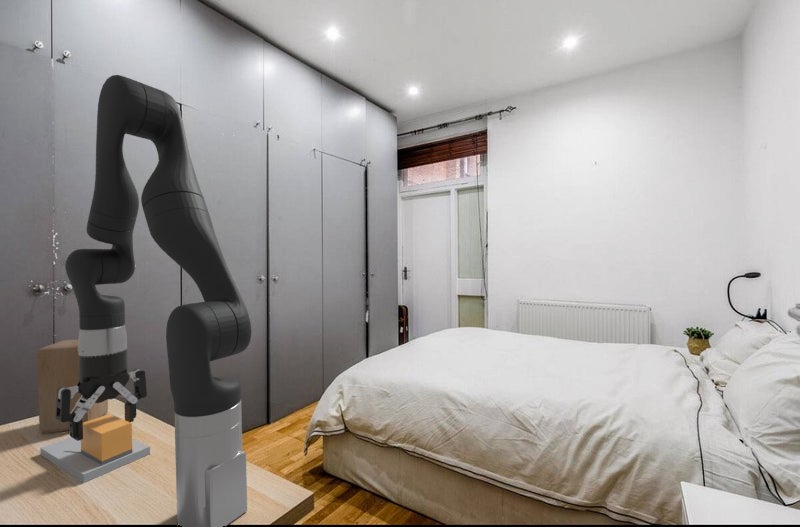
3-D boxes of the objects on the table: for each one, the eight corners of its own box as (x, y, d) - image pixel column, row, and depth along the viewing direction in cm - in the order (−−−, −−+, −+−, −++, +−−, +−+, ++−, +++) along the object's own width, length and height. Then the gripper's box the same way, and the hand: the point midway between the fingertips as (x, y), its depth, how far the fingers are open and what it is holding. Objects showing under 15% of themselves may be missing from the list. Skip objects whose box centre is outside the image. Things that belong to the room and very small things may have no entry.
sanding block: (132, 452, 73) (131, 423, 73) (102, 465, 69) (101, 433, 68) (110, 442, 77) (109, 414, 77) (81, 453, 73) (80, 423, 73)
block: (37, 435, 84) (34, 349, 84) (64, 417, 94) (61, 339, 93) (89, 429, 87) (86, 345, 86) (110, 412, 96) (107, 336, 96)
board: (150, 453, 75) (150, 446, 75) (83, 482, 66) (83, 474, 66) (104, 432, 85) (103, 425, 85) (40, 454, 76) (40, 447, 76)
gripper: (65, 361, 65) (67, 451, 65) (152, 343, 77) (153, 420, 77) (48, 355, 68) (50, 441, 69) (134, 339, 81) (135, 412, 81)
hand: (105, 429), depth 73 cm, fingers open, 8 cm apart
